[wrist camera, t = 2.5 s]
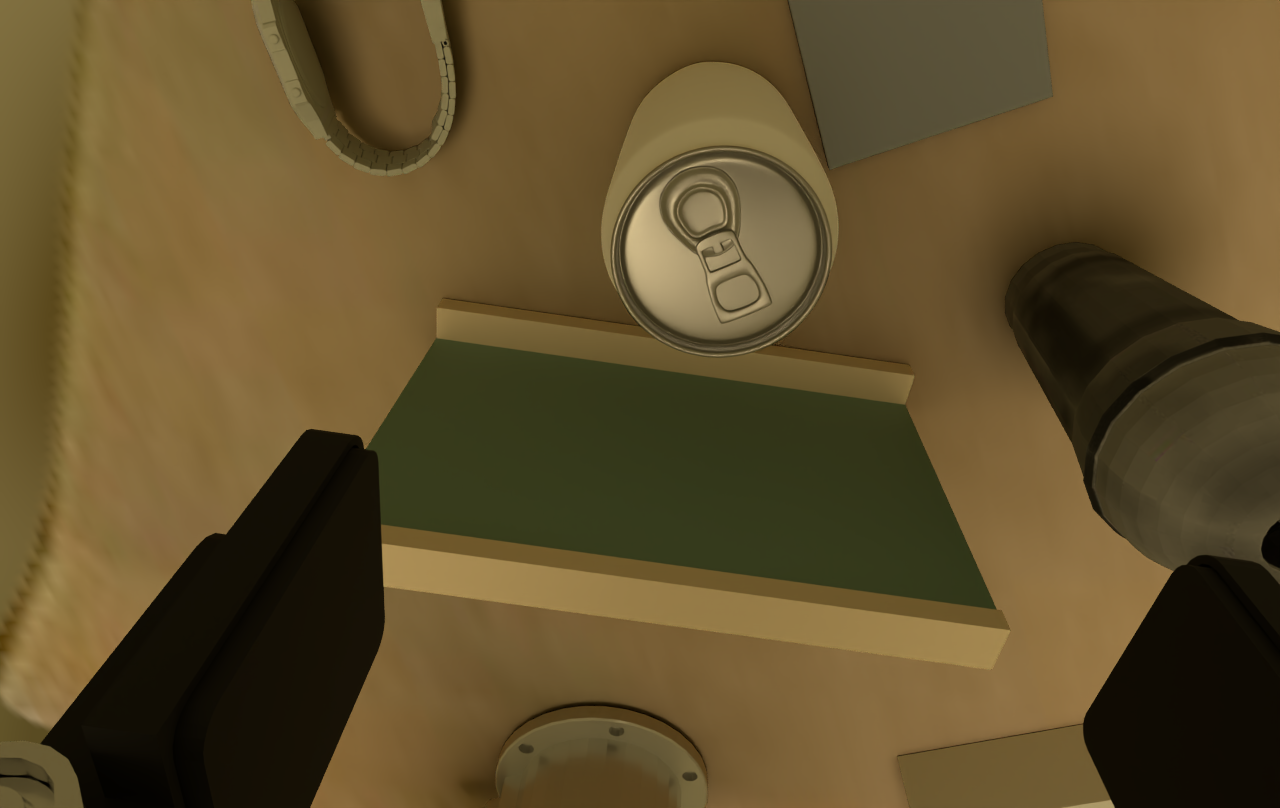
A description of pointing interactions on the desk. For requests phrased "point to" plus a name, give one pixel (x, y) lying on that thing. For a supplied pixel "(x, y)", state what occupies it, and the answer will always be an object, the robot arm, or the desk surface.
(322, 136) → the wristwatch
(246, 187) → the desk surface
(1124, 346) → the beverage cup
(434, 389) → the chalkboard panel
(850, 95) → the grey mat
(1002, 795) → the tool caddy
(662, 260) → the can
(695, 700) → the desk surface
